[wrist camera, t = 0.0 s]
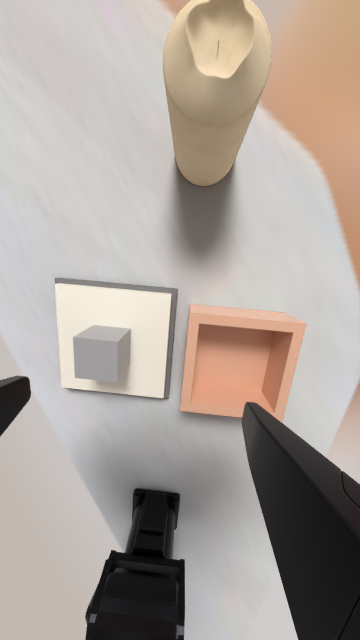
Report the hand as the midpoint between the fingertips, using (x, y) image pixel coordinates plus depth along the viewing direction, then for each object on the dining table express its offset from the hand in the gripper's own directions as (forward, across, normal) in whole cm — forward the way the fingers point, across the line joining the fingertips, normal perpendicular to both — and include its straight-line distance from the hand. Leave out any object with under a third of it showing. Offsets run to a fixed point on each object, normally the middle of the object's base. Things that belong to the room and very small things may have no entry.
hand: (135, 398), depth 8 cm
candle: (+15, -2, -16) cm, 22 cm away
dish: (+15, -7, +3) cm, 17 cm away
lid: (+14, +6, +3) cm, 16 cm away
